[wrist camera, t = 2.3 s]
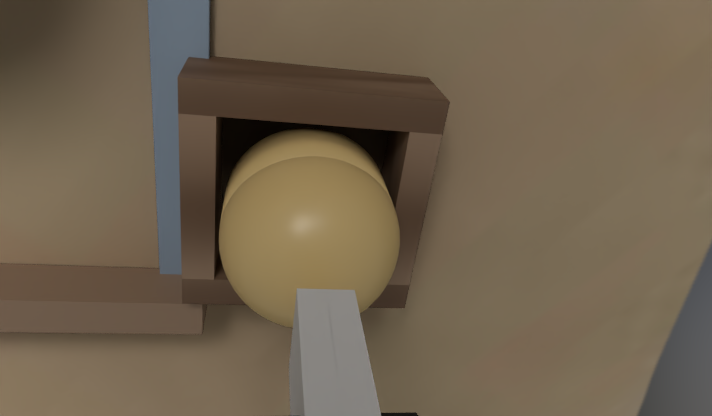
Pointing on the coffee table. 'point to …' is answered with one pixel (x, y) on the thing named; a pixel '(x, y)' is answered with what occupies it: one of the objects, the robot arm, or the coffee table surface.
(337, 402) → the robot arm
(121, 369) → the coffee table surface
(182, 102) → the base
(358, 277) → the pale yellow sphere
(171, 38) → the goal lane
